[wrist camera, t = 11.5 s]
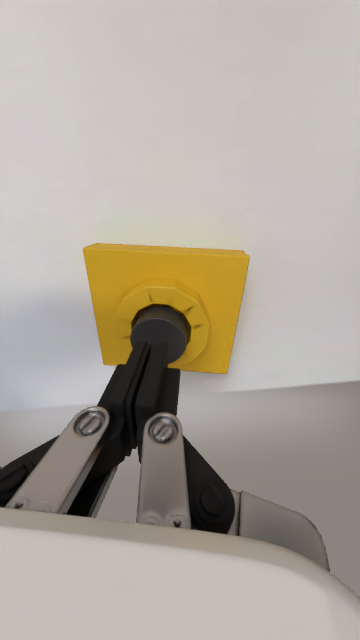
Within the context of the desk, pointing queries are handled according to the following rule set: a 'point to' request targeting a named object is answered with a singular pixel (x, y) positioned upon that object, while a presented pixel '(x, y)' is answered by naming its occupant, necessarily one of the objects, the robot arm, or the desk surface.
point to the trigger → (161, 330)
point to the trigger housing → (168, 298)
